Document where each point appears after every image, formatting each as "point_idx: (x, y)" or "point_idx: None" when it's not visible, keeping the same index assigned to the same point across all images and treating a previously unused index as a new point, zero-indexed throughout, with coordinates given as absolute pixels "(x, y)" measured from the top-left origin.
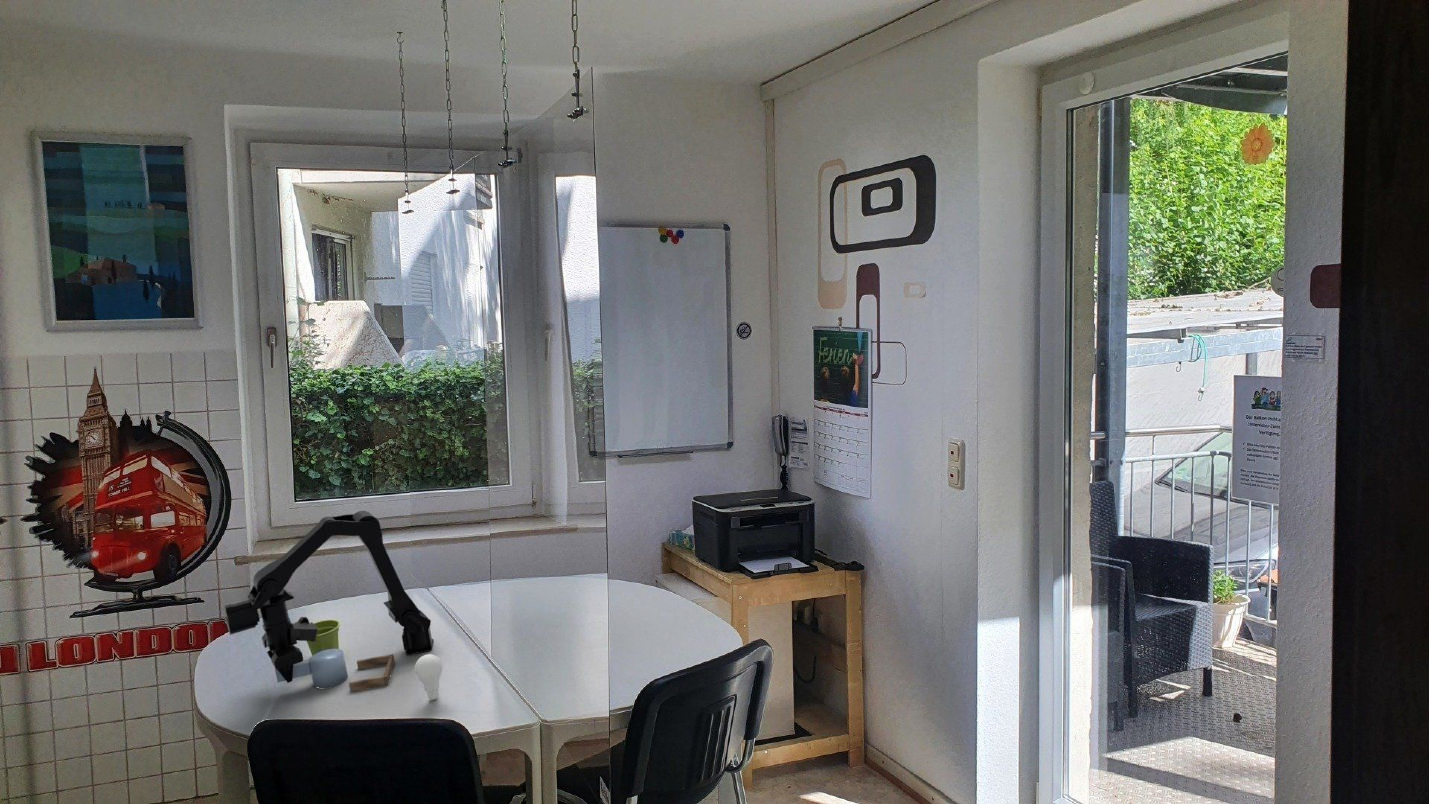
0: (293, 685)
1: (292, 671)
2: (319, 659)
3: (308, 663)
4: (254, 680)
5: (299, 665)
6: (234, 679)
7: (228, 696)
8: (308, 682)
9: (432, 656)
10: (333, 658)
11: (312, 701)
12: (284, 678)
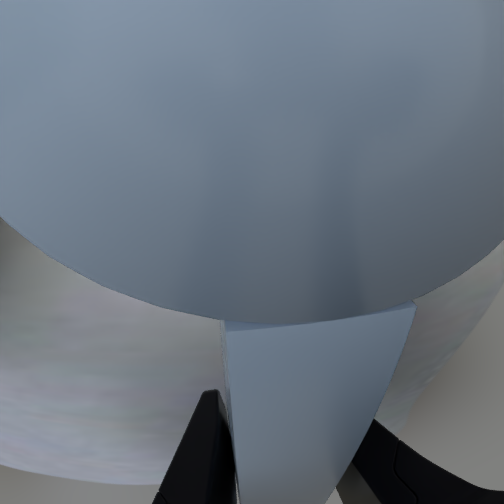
0: (156, 316)
1: (383, 428)
2: (443, 58)
3: (409, 303)
4: (41, 435)
5: (370, 416)
6: (29, 460)
7: (148, 484)
8: None
9: None
10: None
11: None
12: None
